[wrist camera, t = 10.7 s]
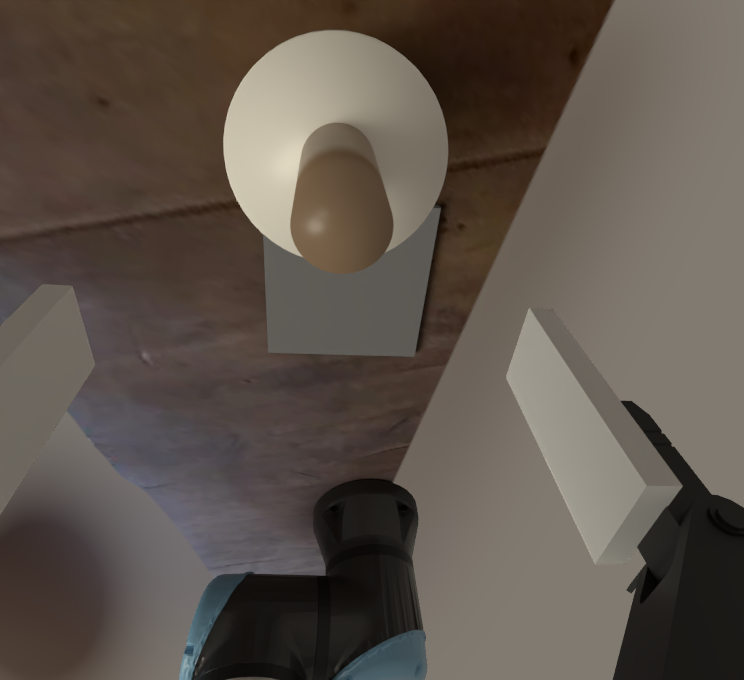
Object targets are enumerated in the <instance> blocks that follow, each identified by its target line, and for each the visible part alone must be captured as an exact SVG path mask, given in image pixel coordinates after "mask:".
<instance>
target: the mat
mask: <svg viewBox="0 0 744 680" xmlns="http://www.w3.org/2000/svg"><path fill="white" fill-rule="evenodd" d="M440 211H441V208H440V206H439V205H434V207H433V209H432V210H431V212H430V213H429V215H428V216H427V218H426V219H425V221H424V222H423V223H422V224H421V225H420V226H419V228H418V229H417V230H416V231H415V232H414V233H413V234H412V235H411V236H409V237H408V238H407V239H406V240H405V241H403V242H402V243H401V244H399V245H398V246H396V247H395V248H393V249H391V250H389V251H387V252H385V253H384V254H383V255H382V257H381V258H380V259H379V260H378V261H376V262H375V263H374V264H373V265H371V266H370V267H368V268H366V269H364V270H361V271H358V272H354V273H349V274H335V273H330V272H326V271H323V270H321V269H319V268H317V267H315V266H313V265H312V264H310V263H309V262H308V261H307V260H305V259H304V258H303V257H301V256H298V255H295V254H293V253H291V252H289V251H287V250H285V249H283V248H282V247H280V246H278V245H277V244H275V243H274V242H272V241H271V240H270V239H269V238H267V237H266V236H265V235H264V234H263V241H264V265H265V288H266V312H267V336H268V353H297V354H334V355H372V356H409V357H414V356H415V351H416V345H417V340H418V334H419V328H420V323H421V317H422V312H423V306H424V300H425V295H426V289H427V284H428V278H429V272H430V267H431V261H432V256H433V250H434V244H435V239H436V233H437V227H438V222H439V216H440Z"/></svg>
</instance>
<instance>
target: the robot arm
mask: <svg viewBox="0 0 744 680" xmlns="http://www.w3.org/2000/svg"><path fill="white" fill-rule="evenodd" d="M94 366H95V362H94V359H93V355H92V352H91V348H90V345H89V342H88V338H87V335H86V331H85V328H84V324H83V321H82V317H81V314H80V310H79V307H78V303H77V300H76V297H75V293H74V290H73V286H65V285H45V284H42V285H41V286H40V287H39V288H38V289H37V290H36V291H35V292H34V293H33V294H32V295H31V296H30V297H29V298H28V299H27V300H26V301H25V302H24V303H23V304H22V305H21V306H20V307H19V308H18V309H17V310H16V311H15V312H14V313H13V314H12V315H11V316H10V317H9V318H8V319H7V320H6V321H5V322H4V323H3V324H2V325H1V326H0V514H1V513H2V511H3V510H4V508H5V506H6V505H7V503H8V502H9V500H10V499H11V497H12V495H13V494H14V492H15V491H16V489H17V488H18V486H19V484H20V483H21V481H22V480H23V478H24V477H25V475H26V473H27V472H28V470H29V469H30V467H31V466H32V464H33V462H34V461H35V459H36V458H37V456H38V454H39V453H40V451H41V450H42V448H43V446H44V445H45V443H46V442H47V440H48V439H49V437H50V436H51V434H52V432H53V431H54V429H55V428H56V426H57V425H58V423H59V421H60V420H61V418H62V417H63V415H64V413H65V412H66V410H67V409H68V407H69V406H70V404H71V403H72V401H73V399H74V398H75V396H76V395H77V393H78V392H79V390H80V388H81V387H82V385H83V384H84V382H85V381H86V379H87V377H88V376H89V374H90V373H91V371H92V370H93V368H94ZM506 378H507V380H508V383H509V385H510V387H511V389H512V391H513V393H514V395H515V397H516V399H517V402H518V403H519V406H520V408H521V410H522V412H523V414H524V416H525V418H526V420H527V423H528V425H529V427H530V429H531V431H532V433H533V435H534V437H535V439H536V441H537V444H538V446H539V448H540V450H541V452H542V454H543V456H544V458H545V460H546V462H547V465H548V467H549V469H550V471H551V473H552V475H553V477H554V479H555V481H556V484H557V486H558V488H559V490H560V492H561V494H562V496H563V498H564V500H565V502H566V505H567V506H568V509H569V511H570V513H571V515H572V517H573V519H574V521H575V523H576V526H577V528H578V530H579V532H580V534H581V536H582V538H583V540H584V542H585V544H586V546H587V549H588V551H589V553H590V555H591V557H592V559H593V561H594V563H595V564H626V563H627V562H628V561H629V559H630V558H631V557H632V555H633V554H634V553H635V551H636V550H637V548H638V549H639V551H640V553H641V555H642V556H643V558H644V560H645V562H646V564H645V566H644V567H643V568H642V570H641V571H640V572H639V573H638V575H637V576H636V577H635V579H634V580H633V582H632V583H631V584H630V586H629V587H628V589H627V591H628V592H630V593H632V592H633V591H634V589H635V588H636V591H635V595H634V598H633V602H632V606H631V610H630V614H629V618H628V622H627V626H626V630H625V634H624V638H623V642H622V646H621V650H620V654H619V657H618V661H617V665H616V669H615V674H614V677H613V680H744V508H743V507H741V506H740V505H738V504H736V503H735V502H733V501H731V500H729V499H726V498H724V497H721V496H718V495H712V494H711V493H710V492H709V491H708V489H707V488H706V487H705V486H704V484H703V483H702V482H701V480H700V479H699V478H698V477H697V475H696V474H695V473H694V472H693V470H692V469H691V468H690V466H689V465H688V464H687V463H686V461H685V460H684V459H683V457H682V456H681V455H680V454H679V453H678V451H677V450H676V448H675V447H672V446H671V444H672V443H671V442H670V441H669V439H668V438H667V437H666V436H665V434H662V433H661V429H660V428H659V427H658V425H657V424H656V423H655V421H654V420H653V419H652V418H651V416H650V415H649V414H647V413H646V412H645V411H644V410H642V409H641V408H640V407H639V406H637V405H636V404H635V403H633V402H632V401H620V400H619V399H618V397H617V396H616V394H615V393H614V392H613V390H612V389H611V388H610V386H609V385H608V383H607V382H606V381H605V379H604V378H603V377H602V375H601V374H600V373H599V371H598V370H597V368H596V367H595V366H594V364H593V363H592V362H591V360H590V359H589V358H588V356H587V355H586V354H585V352H584V351H583V349H582V348H581V347H580V345H579V344H578V343H577V341H576V340H575V339H574V337H573V336H572V335H571V333H570V332H569V330H568V329H567V328H566V326H565V325H564V324H563V322H562V321H561V319H560V318H559V317H558V316H557V314H556V313H555V311H554V310H553V309H543V308H529V310H528V313H527V316H526V319H525V322H524V325H523V328H522V331H521V334H520V337H519V340H518V343H517V346H516V349H515V352H514V355H513V358H512V361H511V364H510V367H509V370H508V373H507V376H506ZM313 527H314V533H315V536H316V539H317V542H318V545H319V548H320V551H321V554H322V556H323V559H324V562H325V566H326V576H315V575H277V574H254V573H253V572H246V573H244V574H223V575H219V576H217V577H216V578H215V579H213V580H212V581H211V582H210V583H209V584H208V586H207V588H206V589H205V591H204V593H203V595H202V597H201V599H200V602H199V604H198V607H197V609H196V612H195V615H194V618H193V621H192V624H191V627H190V631H189V634H188V638H187V646H186V648H185V652H184V655H183V659H182V664H181V668H180V676H179V680H424V679H425V677H426V673H427V659H426V650H425V639H426V636H425V632H424V631H423V625H422V618H421V612H420V606H419V599H418V593H417V587H416V580H415V574H414V568H413V561H412V555H413V549H414V544H415V538H416V532H417V527H418V513H417V507H416V502H415V500H414V498H413V496H412V495H411V494H410V493H409V492H408V491H407V490H406V489H404V488H402V487H401V486H399V485H396V484H394V483H391V482H387V481H381V480H359V481H353V482H349V483H345V484H342V485H340V486H337V487H335V488H333V489H332V490H330V491H328V492H327V493H326V494H324V495H323V496H322V497H321V498H320V499H319V501H318V502H317V504H316V506H315V508H314V520H313Z"/></svg>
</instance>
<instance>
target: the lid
mask: <svg viewBox="0 0 744 680" xmlns="http://www.w3.org/2000/svg"><path fill="white" fill-rule="evenodd" d="M224 159H225V166H226V171H227V175H228V178H229V182H230V185H231V188H232V190H233V192H234V195H235V197H236V199H237V201H238V203H239V204H240V206H241V208H242V210H243V211H244V213H245V214H246V215H247V217H248V218H249V219H250V221H251V222H252V223H253V224H254V225H255V226H256V227H257V228H258V229H259V230H260V232H261V233H263V234H264V235H265V236H266V237H267V238H269V239H270V240H271V241H272V242H274V243H275V244H277V245H278V246H280V247H282V248H283V249H285V250H287V251H289V252H291V253H293V254H295V255H298V256H301V257H303V258H304V259H305V260H307V261H308V262H309V263H310V264H312V265H313V266H315V267H317V268H319V269H321V270H323V271H326V272H330V273H335V274H349V273H354V272H358V271H361V270H364V269H366V268H368V267H370V266H371V265H373V264H374V263H375V262H376V261H378V260H379V259H380V258H381V257H382V255H383V254H384V253H385V252H387V251H389V250H391V249H393V248H395V247H396V246H398V245H399V244H401V243H402V242H403V241H405V240H406V239H407V238H408V237H409V236H411V235H412V234H413V233H414V232H415V231H416V230H417V229H418V228H419V226H420V225H421V224H422V223H423V222H424V221H425V219H426V218H427V216H428V215H429V213H430V212H431V210H432V209H433V207H434V205H435V203H436V201H437V199H438V197H439V194H440V191H441V189H442V186H443V183H444V179H445V175H446V170H447V162H448V137H447V130H446V124H445V120H444V117H443V113H442V110H441V107H440V105H439V103H438V100H437V98H436V95H435V94H434V92H433V90H432V89H431V87H430V85H429V83H428V82H427V80H426V79H425V78H424V77H423V75H422V74H421V73H420V71H419V70H418V69H417V68H416V67H415V66H414V65H413V64H412V63H411V62H410V61H409V60H408V59H407V58H406V57H405V56H403V55H402V54H401V53H399V52H398V51H396V50H395V49H394V48H392V47H391V46H389V45H387V44H386V43H384V42H382V41H380V40H378V39H376V38H373V37H370V36H368V35H365V34H362V33H358V32H352V31H347V30H320V31H313V32H309V33H305V34H302V35H298V36H295V37H293V38H291V39H289V40H287V41H285V42H283V43H281V44H279V45H278V46H276V47H275V48H273V49H272V50H271V51H269V52H268V53H267V54H266V55H264V56H263V57H262V58H261V59H260V60H259V61H258V62H257V63H256V64H255V65H254V66H253V67H252V68H251V70H250V71H249V72H248V73H247V75H246V76H245V77H244V78H243V80H242V82H241V84H240V85H239V87H238V89H237V90H236V92H235V94H234V97H233V99H232V102H231V104H230V107H229V110H228V114H227V118H226V122H225V130H224Z"/></svg>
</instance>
